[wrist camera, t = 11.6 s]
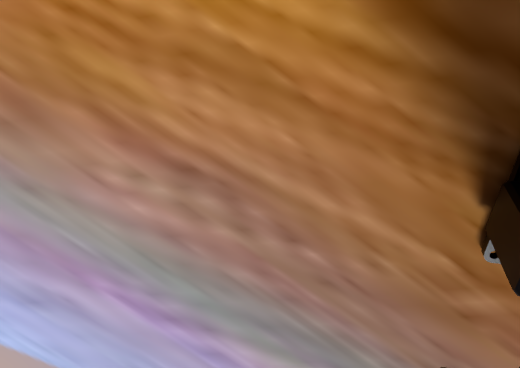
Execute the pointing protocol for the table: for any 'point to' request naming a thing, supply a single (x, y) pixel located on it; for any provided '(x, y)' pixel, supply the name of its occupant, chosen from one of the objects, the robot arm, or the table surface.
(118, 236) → the table surface
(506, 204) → the robot arm
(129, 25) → the table surface
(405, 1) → the table surface
